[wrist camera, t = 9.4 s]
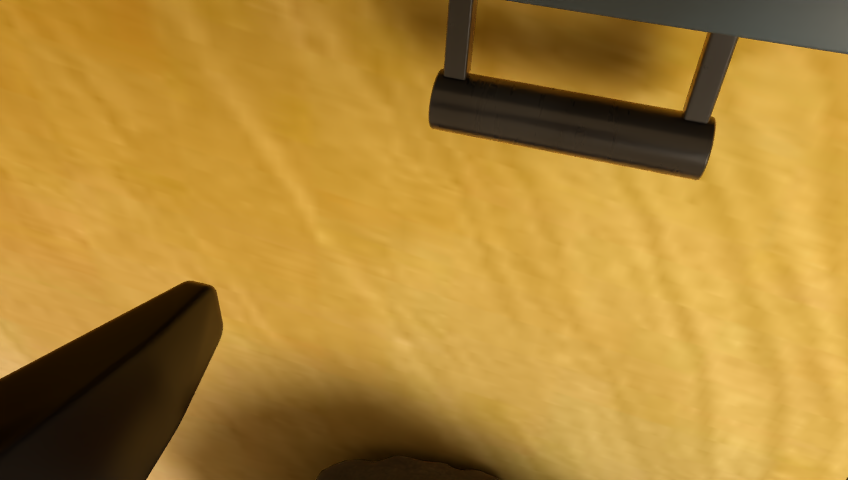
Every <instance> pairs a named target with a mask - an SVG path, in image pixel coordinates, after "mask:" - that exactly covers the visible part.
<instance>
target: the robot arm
mask: <svg viewBox="0 0 848 480" xmlns="http://www.w3.org/2000/svg"><path fill="white" fill-rule="evenodd" d="M222 331H223V321H222V316H221V311H220V306H219V301H218V296H217V292H216V290H215V289H214V287H213V286H211V285H207V284H203V283H199V282H195V281H186V282H183V283H181V284H179V285H177V286H175V287H173V288H172V289H170V290H168V291H166V292H164V293H162V294H160V295H158V296H156V297H155V298H153V299H151V300H149V301H147V302H145V303H143V304H141V305H139V306H137V307H136V308H134V309H132V310H130V311H128V312H126V313H124V314H122V315H120V316H119V317H117V318H115V319H113V320H111V321H109V322H107V323H105V324H103V325H101V326H100V327H98V328H96V329H94V330H92V331H90V332H88V333H86V334H84V335H83V336H81V337H79V338H77V339H75V340H73V341H71V342H69V343H67V344H65V345H64V346H62V347H60V348H58V349H56V350H54V351H52V352H50V353H48V354H47V355H45V356H43V357H41V358H39V359H37V360H35V361H33V362H31V363H29V364H28V365H26V366H24V367H22V368H20V369H18V370H16V371H14V372H12V373H11V374H9V375H7V376H5V377H3V378H1V379H0V480H146V479H147V477H148V476H149V474H150V472H151V471H152V469H153V467H154V466H155V464H156V463H157V461H158V459H159V458H160V456H161V454H162V453H163V451H164V450H165V448H166V446H167V445H168V443H169V441H170V440H171V438H172V436H173V435H174V433H175V431H176V430H177V428H178V426H179V424H180V422H181V420H182V418H183V416H184V414H185V412H186V410H187V408H188V406H189V404H190V402H191V400H192V398H193V396H194V394H195V391H196V389H197V387H198V385H199V383H200V381H201V379H202V377H203V375H204V372H205V370H206V368H207V366H208V364H209V362H210V360H211V358H212V356H213V353H214V351H215V349H216V347H217V345H218V343H219V341H220V338H221V335H222ZM846 480H848V478H847V479H846Z"/></svg>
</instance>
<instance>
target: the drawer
mask: <svg viewBox="0 0 848 480" xmlns="http://www.w3.org/2000/svg"><path fill="white" fill-rule="evenodd" d="M507 1H513V2H520V3H526V4H532V5H539V6H545V7H551V8H558V9H564V10H570V11H577V12H583V13H589V14H596V15H602V16H608V17H615V18H621V19H627V20H634V21H640V22H646V23H653V24H659V25H665V26H672V27H678V28H684V29H691V30H697V31H703V32H708V33H707V36H706V40H705V43H704V46H703V49H702V52H701V55H700V58H699V61H698V64H697V68H696V71H695V74H694V77H693V80H692V83H691V86H690V89H689V92H688V96H687V99H686V102H685V105H684V108H683V111H678V110H672V109H667V108H661V107H655V106H650V105H644V104H639V103H633V102H627V101H622V100H616V99H611V98H605V97H599V96H594V95H588V94H583V93H577V92H571V91H566V90H560V89H555V88H549V87H543V86H538V85H532V84H527V83H521V82H516V81H510V80H504V79H499V78H493V77H488V76H482V75H476V74H471V73H469V72H470V70H471V60H472V50H473V40H474V30H475V20H476V10H477V0H449V7H448V21H447V34H446V48H445V62H444V69H441V70H440V71H439V73H438V75H437V77H436V79H435V82H434V85H433V89H432V93H431V99H430V105H429V124H430V127H431V128H433V129H437V130H442V131H447V132H452V133H458V134H463V135H468V136H473V137H478V138H483V139H488V140H493V141H499V142H504V143H509V144H514V145H519V146H524V147H529V148H534V149H539V150H545V151H550V152H555V153H560V154H565V155H570V156H575V157H580V158H586V159H591V160H596V161H601V162H606V163H611V164H616V165H621V166H626V167H632V168H637V169H642V170H647V171H652V172H657V173H662V174H667V175H673V176H678V177H683V178H688V179H693V180H699V179H700V178H701V176H702V175H703V173H704V171H705V168H706V166H707V163H708V160H709V157H710V153H711V150H712V146H713V141H714V136H715V128H716V122H715V118H714V117H711V114H712V111H713V109H714V106H715V103H716V100H717V97H718V94H719V92H720V89H721V86H722V83H723V80H724V77H725V75H726V72H727V69H728V66H729V63H730V60H731V58H732V55H733V52H734V49H735V46H736V43H737V41H738V38H739V37H741V38H748V39H754V40H760V41H767V42H773V43H779V44H786V45H792V46H798V47H805V48H811V49H817V50H824V51H830V52H836V53H843V54H848V0H507Z"/></svg>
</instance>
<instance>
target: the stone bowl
mask: <svg viewBox="0 0 848 480" xmlns="http://www.w3.org/2000/svg"><path fill="white" fill-rule="evenodd" d="M316 480H498V479H497V478H495V477H494V476H492V475H489V474H486V473H484V472H482V471H479V470H474V469H468V470H459V469H455V468H452V467H451V466H449V465H447V464H446V463H439V462H428V461H421V460H417V459H413V458H410V457H406V456H397V455H396V456H393V457H390V458H388V459H385V460H381V461H377V462H371V461H365V460H348V461H343V462H341V463H338V464H335V465H333V466H331V467H329V468H327V469H325V470H323V471H322V472H321V473H320V474H319V476H318V477H317V478H316Z"/></svg>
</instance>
